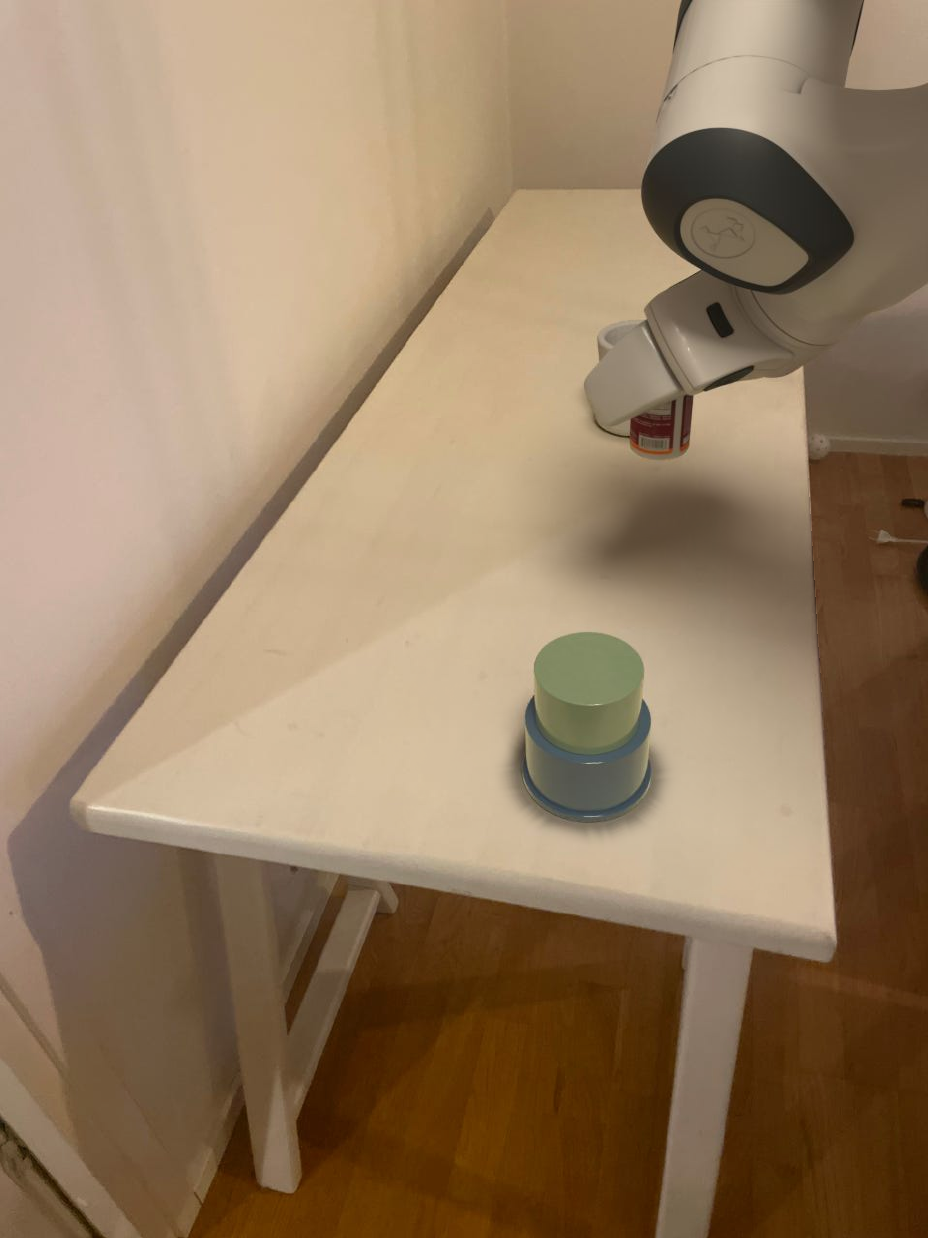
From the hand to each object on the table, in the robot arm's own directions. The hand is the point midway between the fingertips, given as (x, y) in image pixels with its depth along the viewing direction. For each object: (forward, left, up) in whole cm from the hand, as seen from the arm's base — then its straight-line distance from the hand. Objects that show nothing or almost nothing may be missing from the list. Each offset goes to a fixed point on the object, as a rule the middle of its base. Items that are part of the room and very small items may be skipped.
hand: (655, 394), depth 73 cm
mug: (+7, -30, -17) cm, 35 cm away
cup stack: (-1, +24, -17) cm, 30 cm away
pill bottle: (-1, 0, -5) cm, 5 cm away
